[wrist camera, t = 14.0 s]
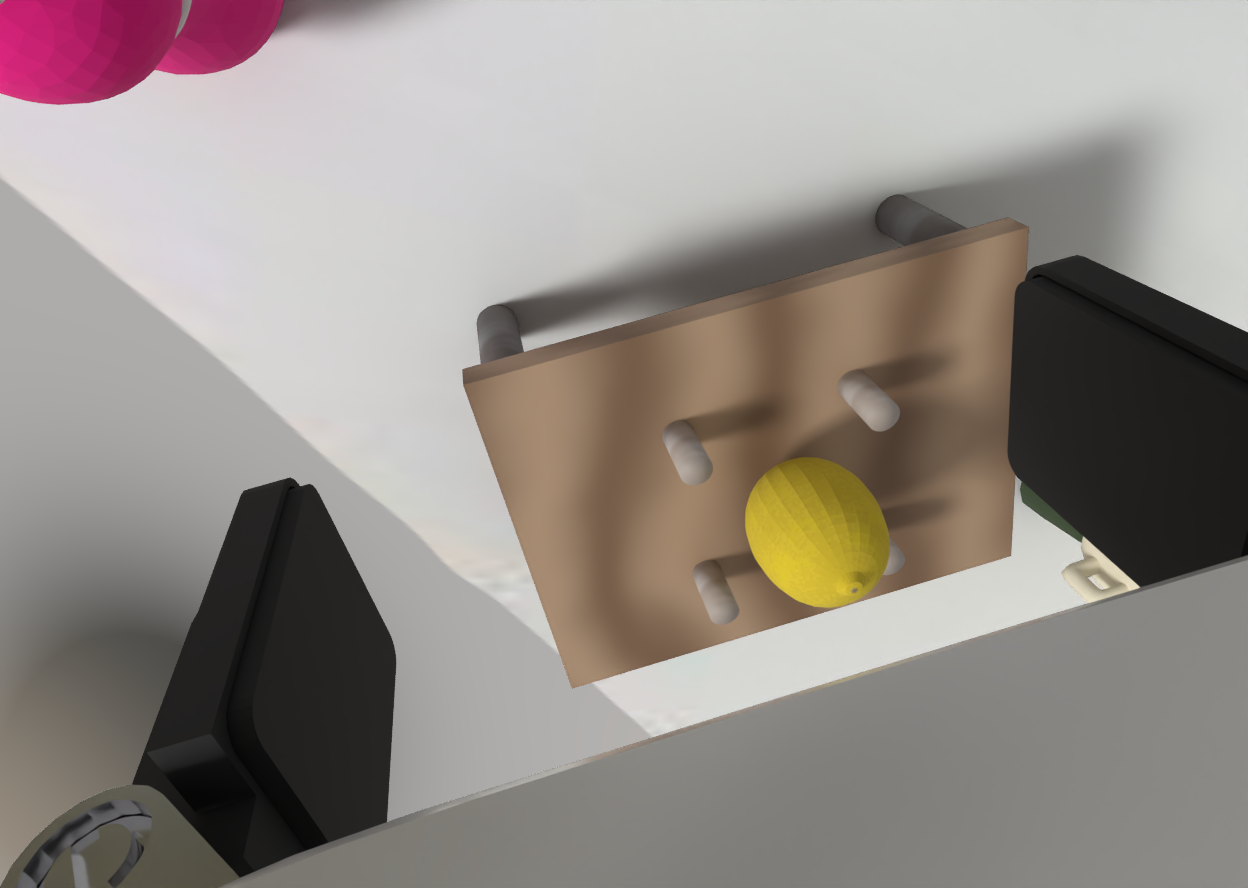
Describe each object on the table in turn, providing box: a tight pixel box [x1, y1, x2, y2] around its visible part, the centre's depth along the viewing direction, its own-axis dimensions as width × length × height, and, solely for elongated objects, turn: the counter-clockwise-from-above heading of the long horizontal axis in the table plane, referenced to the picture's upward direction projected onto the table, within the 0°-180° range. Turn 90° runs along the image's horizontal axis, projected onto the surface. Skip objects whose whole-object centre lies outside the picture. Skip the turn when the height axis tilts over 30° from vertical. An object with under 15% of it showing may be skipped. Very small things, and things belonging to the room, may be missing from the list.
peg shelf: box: [462, 195, 1029, 688], centre depth 41 cm, size 24×18×12 cm
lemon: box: [745, 457, 890, 608], centre depth 35 cm, size 6×6×8 cm
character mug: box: [1020, 482, 1140, 603], centre depth 48 cm, size 11×7×13 cm, turn 106°
